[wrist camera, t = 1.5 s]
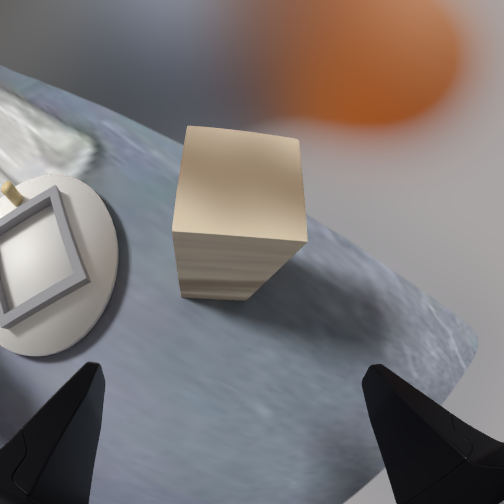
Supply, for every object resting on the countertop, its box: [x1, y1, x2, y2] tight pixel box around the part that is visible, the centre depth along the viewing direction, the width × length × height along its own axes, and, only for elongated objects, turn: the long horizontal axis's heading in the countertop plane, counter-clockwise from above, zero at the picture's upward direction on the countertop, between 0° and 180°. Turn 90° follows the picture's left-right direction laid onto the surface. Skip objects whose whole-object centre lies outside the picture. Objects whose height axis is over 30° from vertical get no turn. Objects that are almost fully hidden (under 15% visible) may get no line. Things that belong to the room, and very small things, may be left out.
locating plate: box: [0, 175, 119, 356], centre depth 19 cm, size 16×16×4 cm
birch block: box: [172, 126, 308, 301], centre depth 18 cm, size 5×5×13 cm
